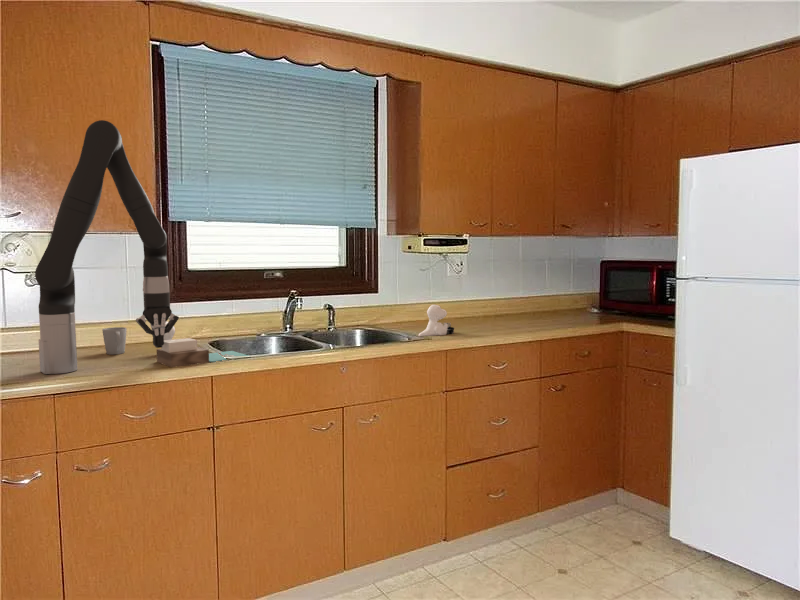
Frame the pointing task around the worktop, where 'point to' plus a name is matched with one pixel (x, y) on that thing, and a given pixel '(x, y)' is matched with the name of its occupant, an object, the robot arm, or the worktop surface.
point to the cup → (114, 340)
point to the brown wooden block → (183, 357)
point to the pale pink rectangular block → (179, 345)
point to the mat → (216, 357)
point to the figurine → (433, 326)
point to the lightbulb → (169, 335)
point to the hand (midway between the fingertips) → (158, 347)
